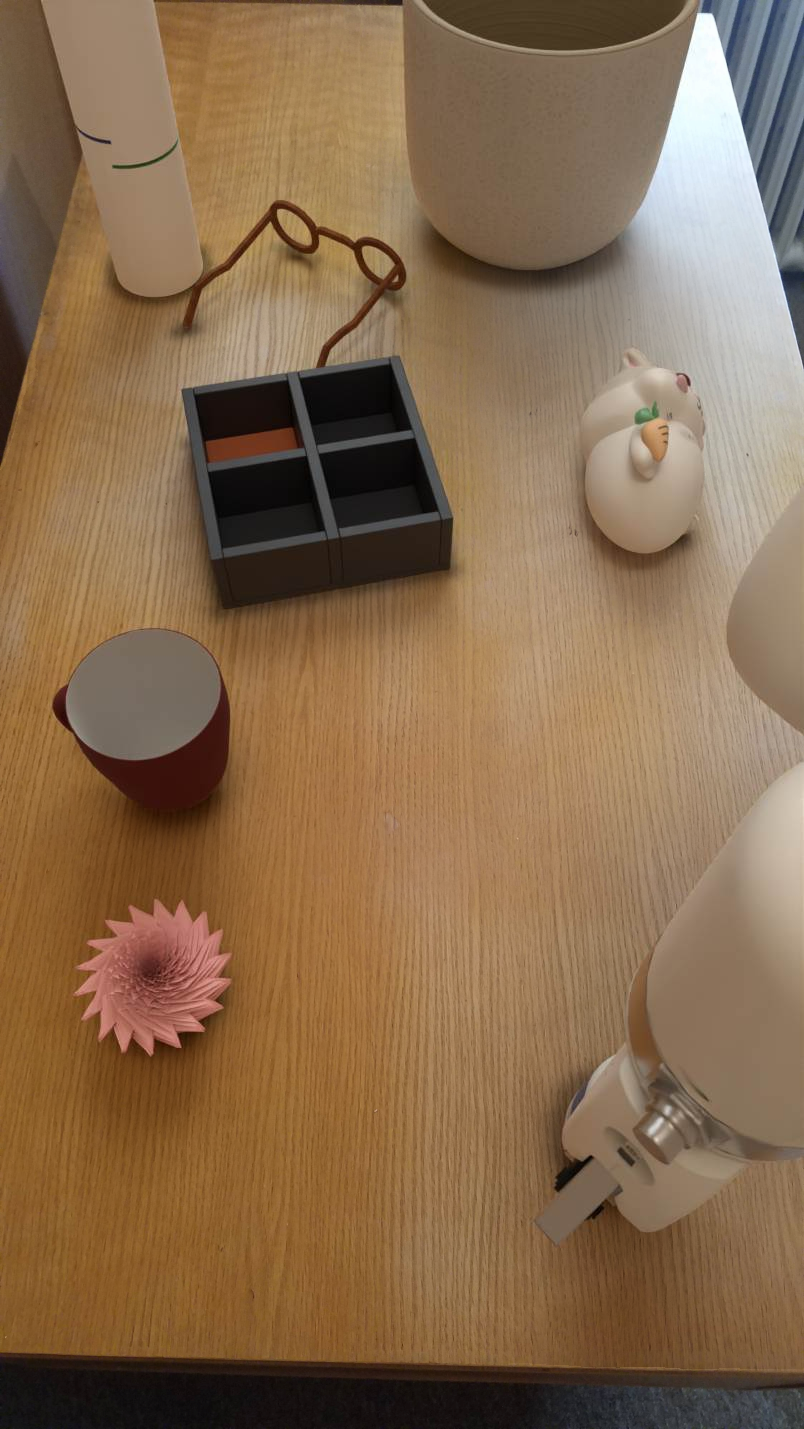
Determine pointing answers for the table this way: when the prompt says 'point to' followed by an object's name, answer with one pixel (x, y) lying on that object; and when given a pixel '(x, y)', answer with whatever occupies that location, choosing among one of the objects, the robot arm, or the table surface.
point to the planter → (539, 119)
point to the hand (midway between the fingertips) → (637, 1118)
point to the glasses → (309, 249)
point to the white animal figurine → (644, 455)
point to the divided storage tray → (316, 481)
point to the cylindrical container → (129, 139)
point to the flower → (155, 977)
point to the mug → (151, 716)
